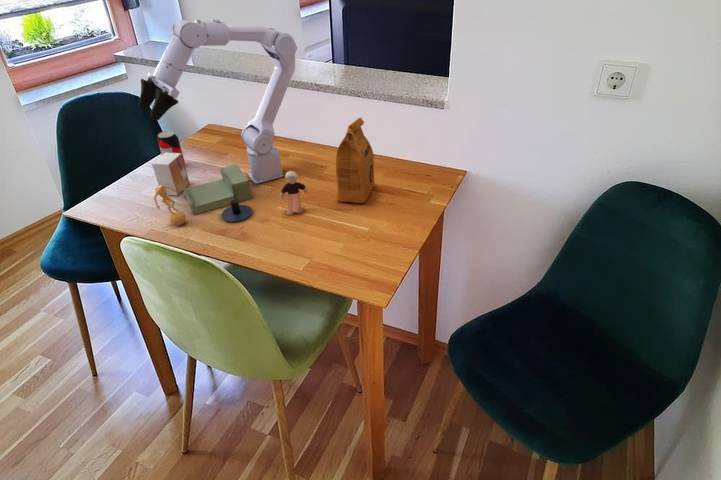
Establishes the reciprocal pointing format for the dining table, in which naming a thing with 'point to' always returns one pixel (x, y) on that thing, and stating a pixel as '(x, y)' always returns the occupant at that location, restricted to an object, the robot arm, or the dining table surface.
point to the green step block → (219, 190)
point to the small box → (171, 172)
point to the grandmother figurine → (293, 193)
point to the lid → (236, 212)
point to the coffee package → (354, 165)
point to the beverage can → (169, 143)
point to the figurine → (175, 216)
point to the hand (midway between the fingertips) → (148, 113)
